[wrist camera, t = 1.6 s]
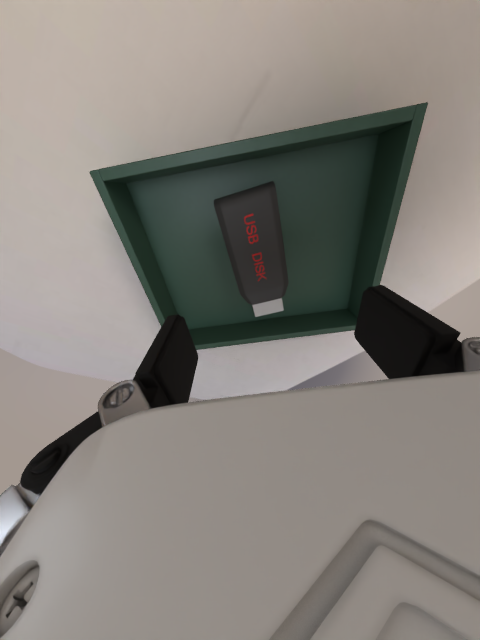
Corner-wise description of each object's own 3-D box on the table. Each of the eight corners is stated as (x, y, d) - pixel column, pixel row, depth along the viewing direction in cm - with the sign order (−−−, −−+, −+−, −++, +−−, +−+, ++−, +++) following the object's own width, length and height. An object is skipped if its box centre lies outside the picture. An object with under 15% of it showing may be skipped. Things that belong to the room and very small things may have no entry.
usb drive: (271, 181, 17) (276, 179, 14) (288, 300, 23) (294, 311, 21) (214, 199, 17) (210, 200, 15) (246, 309, 24) (247, 322, 22)
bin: (387, 121, 15) (428, 101, 12) (350, 310, 25) (368, 328, 21) (117, 175, 17) (88, 171, 13) (181, 333, 26) (173, 352, 23)
